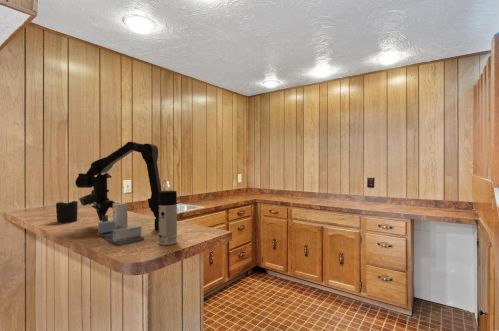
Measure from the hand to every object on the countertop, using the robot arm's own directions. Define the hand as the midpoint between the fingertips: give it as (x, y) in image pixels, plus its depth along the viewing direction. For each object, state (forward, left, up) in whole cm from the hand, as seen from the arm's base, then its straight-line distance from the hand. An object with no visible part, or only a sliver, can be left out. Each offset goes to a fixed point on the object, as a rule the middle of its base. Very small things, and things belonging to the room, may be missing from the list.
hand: (101, 220), depth 126 cm
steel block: (-16, +16, -2) cm, 23 cm away
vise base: (-16, +16, -3) cm, 23 cm away
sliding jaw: (-7, +7, -2) cm, 10 cm away
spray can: (-38, +25, -4) cm, 46 cm away
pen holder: (+25, -15, -4) cm, 29 cm away
